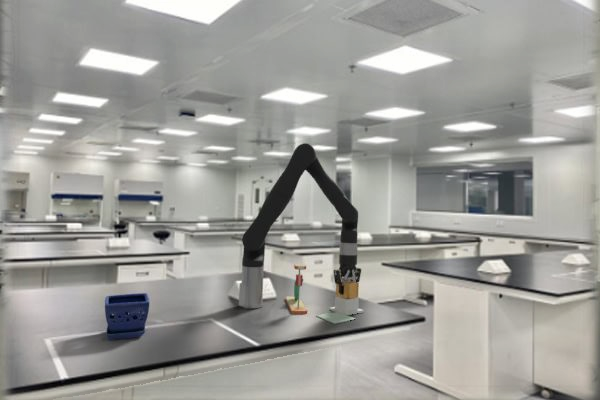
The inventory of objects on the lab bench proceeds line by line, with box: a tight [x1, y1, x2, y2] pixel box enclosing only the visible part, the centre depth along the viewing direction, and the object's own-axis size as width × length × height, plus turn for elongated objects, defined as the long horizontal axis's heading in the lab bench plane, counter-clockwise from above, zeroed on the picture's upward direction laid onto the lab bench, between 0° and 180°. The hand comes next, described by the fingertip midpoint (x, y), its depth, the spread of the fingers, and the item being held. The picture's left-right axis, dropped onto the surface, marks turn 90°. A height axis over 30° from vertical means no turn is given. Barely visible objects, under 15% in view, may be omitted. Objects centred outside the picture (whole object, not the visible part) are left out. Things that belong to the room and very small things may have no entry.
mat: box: [316, 311, 357, 325], centre depth 158 cm, size 11×11×1 cm
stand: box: [329, 277, 365, 316], centre depth 169 cm, size 10×10×14 cm
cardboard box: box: [335, 281, 360, 299], centre depth 169 cm, size 5×8×6 cm
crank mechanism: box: [284, 263, 308, 315], centre depth 174 cm, size 25×7×19 cm, turn 8°
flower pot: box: [104, 292, 150, 341], centre depth 131 cm, size 13×13×12 cm
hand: (346, 293), depth 169 cm, fingers closed on cardboard box, 5 cm apart
